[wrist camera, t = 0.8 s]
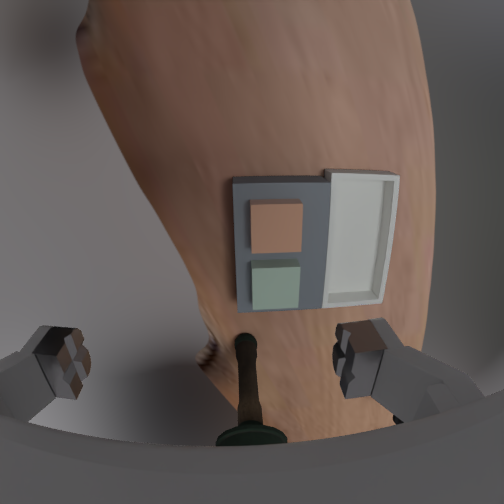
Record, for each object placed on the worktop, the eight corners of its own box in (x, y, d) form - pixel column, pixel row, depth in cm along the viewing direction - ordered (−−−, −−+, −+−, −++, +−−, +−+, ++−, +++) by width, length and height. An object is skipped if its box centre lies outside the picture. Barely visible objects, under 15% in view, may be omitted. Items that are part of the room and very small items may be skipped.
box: (324, 168, 43) (331, 172, 39) (389, 171, 43) (399, 175, 40) (316, 296, 50) (321, 308, 47) (374, 292, 51) (382, 303, 48)
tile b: (251, 260, 42) (252, 268, 40) (297, 258, 42) (300, 266, 40) (251, 300, 44) (252, 309, 42) (295, 297, 45) (298, 307, 42)
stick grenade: (267, 359, 55) (288, 516, 28) (218, 357, 54) (214, 517, 27) (274, 320, 52) (305, 490, 24) (221, 318, 51) (214, 491, 24)
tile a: (249, 199, 39) (250, 204, 37) (298, 198, 39) (302, 203, 37) (250, 245, 41) (251, 253, 39) (297, 244, 41) (301, 251, 39)
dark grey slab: (232, 176, 43) (232, 183, 38) (320, 175, 43) (330, 182, 38) (237, 294, 50) (237, 312, 45) (314, 291, 50) (321, 308, 46)
